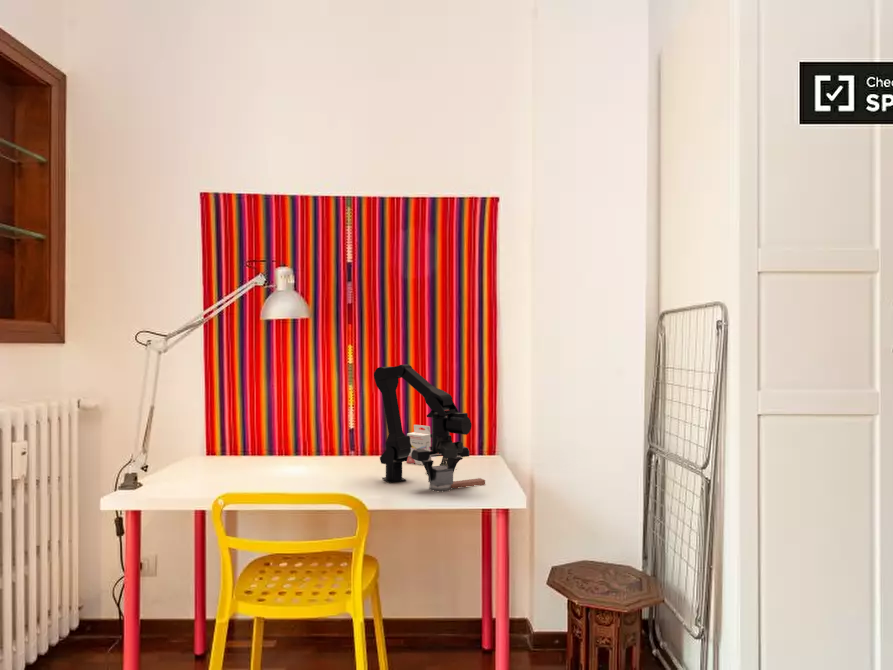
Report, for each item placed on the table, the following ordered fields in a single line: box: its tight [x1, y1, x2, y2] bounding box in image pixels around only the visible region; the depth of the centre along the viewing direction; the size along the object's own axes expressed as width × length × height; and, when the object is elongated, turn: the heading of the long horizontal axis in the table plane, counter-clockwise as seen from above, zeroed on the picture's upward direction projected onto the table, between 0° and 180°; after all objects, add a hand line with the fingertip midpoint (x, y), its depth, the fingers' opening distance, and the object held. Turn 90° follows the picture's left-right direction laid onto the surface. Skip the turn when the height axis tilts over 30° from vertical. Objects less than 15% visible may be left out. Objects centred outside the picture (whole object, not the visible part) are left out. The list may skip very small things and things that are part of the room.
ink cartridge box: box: [406, 424, 432, 466], centre depth 246 cm, size 9×5×15 cm, turn 58°
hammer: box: [429, 477, 486, 493], centre depth 208 cm, size 20×7×5 cm, turn 118°
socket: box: [427, 465, 454, 486], centre depth 205 cm, size 6×6×5 cm
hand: (440, 479), depth 205 cm, fingers open, 7 cm apart
